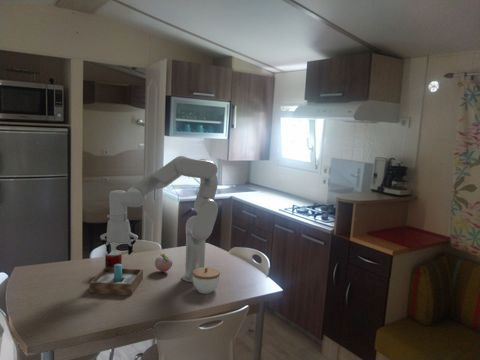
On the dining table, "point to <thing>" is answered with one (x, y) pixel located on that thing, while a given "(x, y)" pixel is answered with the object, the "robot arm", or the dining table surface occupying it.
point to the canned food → (113, 258)
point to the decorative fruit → (163, 263)
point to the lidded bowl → (205, 279)
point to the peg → (118, 273)
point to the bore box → (107, 285)
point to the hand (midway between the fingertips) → (119, 253)
